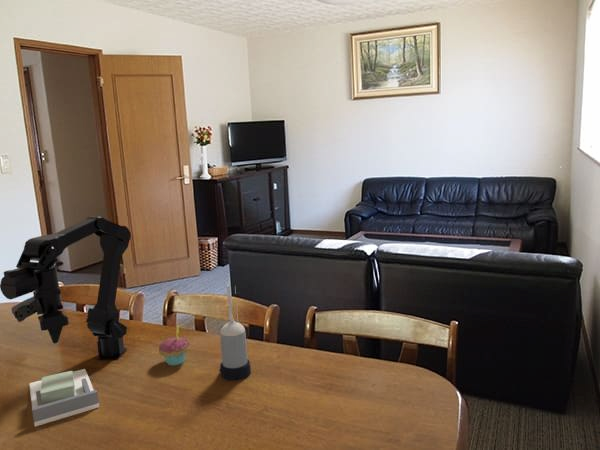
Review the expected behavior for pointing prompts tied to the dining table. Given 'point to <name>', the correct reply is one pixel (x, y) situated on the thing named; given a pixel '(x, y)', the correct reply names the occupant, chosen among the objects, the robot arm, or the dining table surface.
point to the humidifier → (233, 348)
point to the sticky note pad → (57, 387)
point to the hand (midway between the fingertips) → (55, 342)
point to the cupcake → (174, 349)
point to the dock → (64, 400)
